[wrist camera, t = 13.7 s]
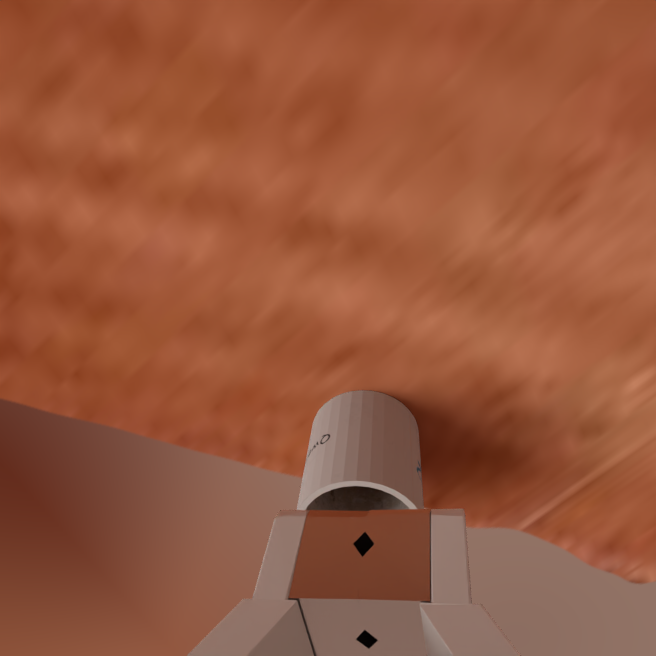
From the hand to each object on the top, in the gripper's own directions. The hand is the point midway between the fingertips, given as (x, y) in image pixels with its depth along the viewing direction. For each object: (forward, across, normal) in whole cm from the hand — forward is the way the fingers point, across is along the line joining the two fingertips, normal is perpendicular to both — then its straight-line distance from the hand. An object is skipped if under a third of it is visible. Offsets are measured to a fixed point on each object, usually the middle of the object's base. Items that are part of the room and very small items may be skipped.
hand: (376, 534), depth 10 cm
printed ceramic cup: (+30, +7, +25) cm, 40 cm away
